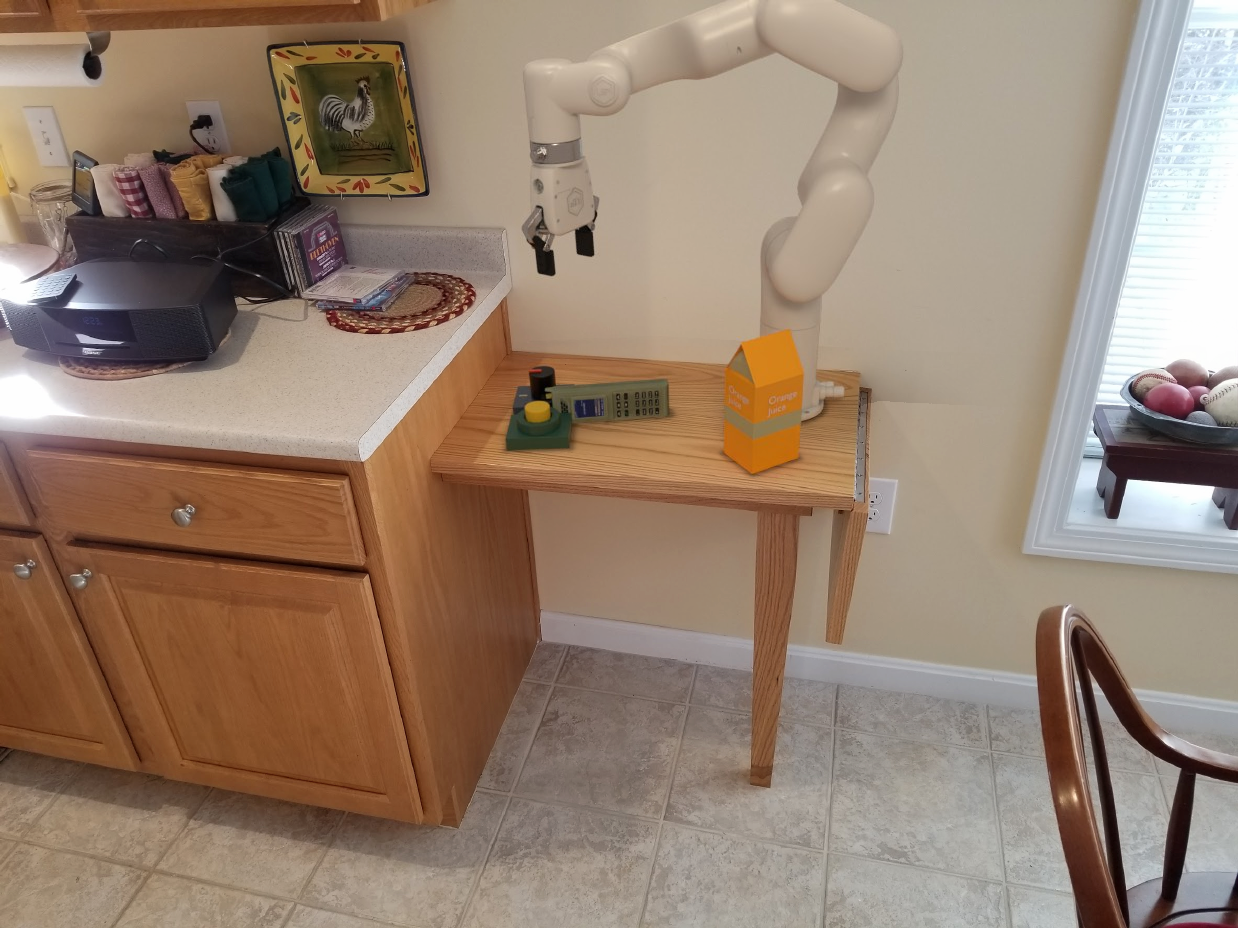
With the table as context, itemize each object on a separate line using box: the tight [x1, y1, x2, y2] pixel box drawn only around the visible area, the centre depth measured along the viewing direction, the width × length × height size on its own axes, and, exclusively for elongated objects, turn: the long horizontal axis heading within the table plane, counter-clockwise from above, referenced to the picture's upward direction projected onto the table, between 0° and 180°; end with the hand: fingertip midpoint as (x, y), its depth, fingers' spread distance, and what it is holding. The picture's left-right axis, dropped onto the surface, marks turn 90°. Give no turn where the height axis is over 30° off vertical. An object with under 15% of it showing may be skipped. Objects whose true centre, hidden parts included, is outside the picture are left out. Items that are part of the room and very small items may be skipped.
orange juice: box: [723, 329, 804, 475], centre depth 135 cm, size 8×9×20 cm
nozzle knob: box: [528, 365, 557, 401], centre depth 154 cm, size 4×4×5 cm
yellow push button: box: [525, 401, 551, 423], centre depth 146 cm, size 4×4×2 cm
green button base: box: [505, 407, 573, 451], centre depth 147 cm, size 10×8×4 cm
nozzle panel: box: [512, 383, 575, 415], centre depth 156 cm, size 10×9×3 cm
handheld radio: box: [545, 378, 670, 424], centre depth 152 cm, size 7×3×25 cm
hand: (566, 264), depth 141 cm, fingers open, 9 cm apart
